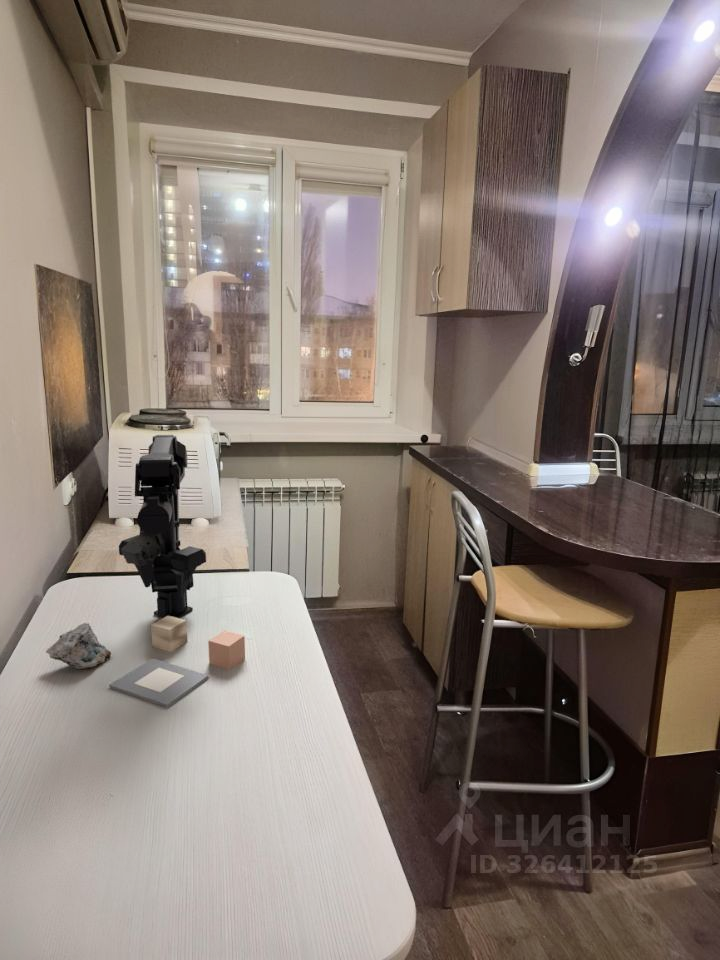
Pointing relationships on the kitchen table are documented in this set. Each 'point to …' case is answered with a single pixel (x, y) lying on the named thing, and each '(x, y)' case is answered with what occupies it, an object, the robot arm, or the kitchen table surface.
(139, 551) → the robot arm
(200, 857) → the kitchen table surface
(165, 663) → the slate board
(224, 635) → the terracotta cube
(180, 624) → the beech cube
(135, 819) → the kitchen table surface
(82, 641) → the mineral specimen
